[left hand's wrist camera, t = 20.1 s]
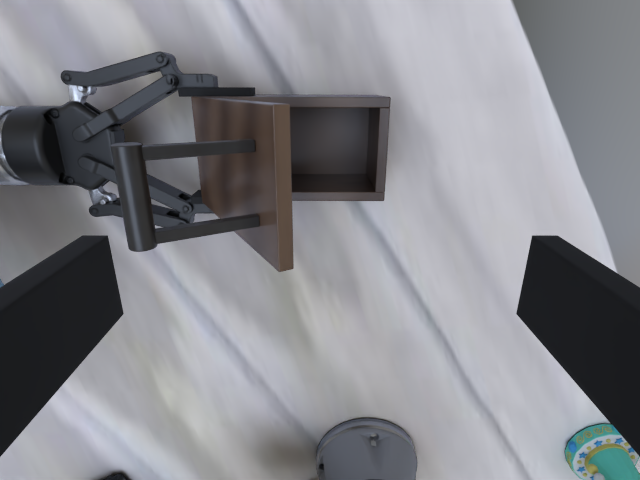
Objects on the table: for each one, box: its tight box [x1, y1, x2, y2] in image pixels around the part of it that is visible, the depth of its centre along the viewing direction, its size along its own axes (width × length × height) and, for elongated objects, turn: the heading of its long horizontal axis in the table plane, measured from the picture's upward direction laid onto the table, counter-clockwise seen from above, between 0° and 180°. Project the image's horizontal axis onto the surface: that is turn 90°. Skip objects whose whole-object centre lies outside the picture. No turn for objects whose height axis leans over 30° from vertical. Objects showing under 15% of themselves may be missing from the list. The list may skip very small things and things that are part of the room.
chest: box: [200, 95, 390, 201], centre depth 41 cm, size 17×9×9 cm, turn 90°
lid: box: [110, 97, 293, 272], centre depth 27 cm, size 17×9×8 cm
